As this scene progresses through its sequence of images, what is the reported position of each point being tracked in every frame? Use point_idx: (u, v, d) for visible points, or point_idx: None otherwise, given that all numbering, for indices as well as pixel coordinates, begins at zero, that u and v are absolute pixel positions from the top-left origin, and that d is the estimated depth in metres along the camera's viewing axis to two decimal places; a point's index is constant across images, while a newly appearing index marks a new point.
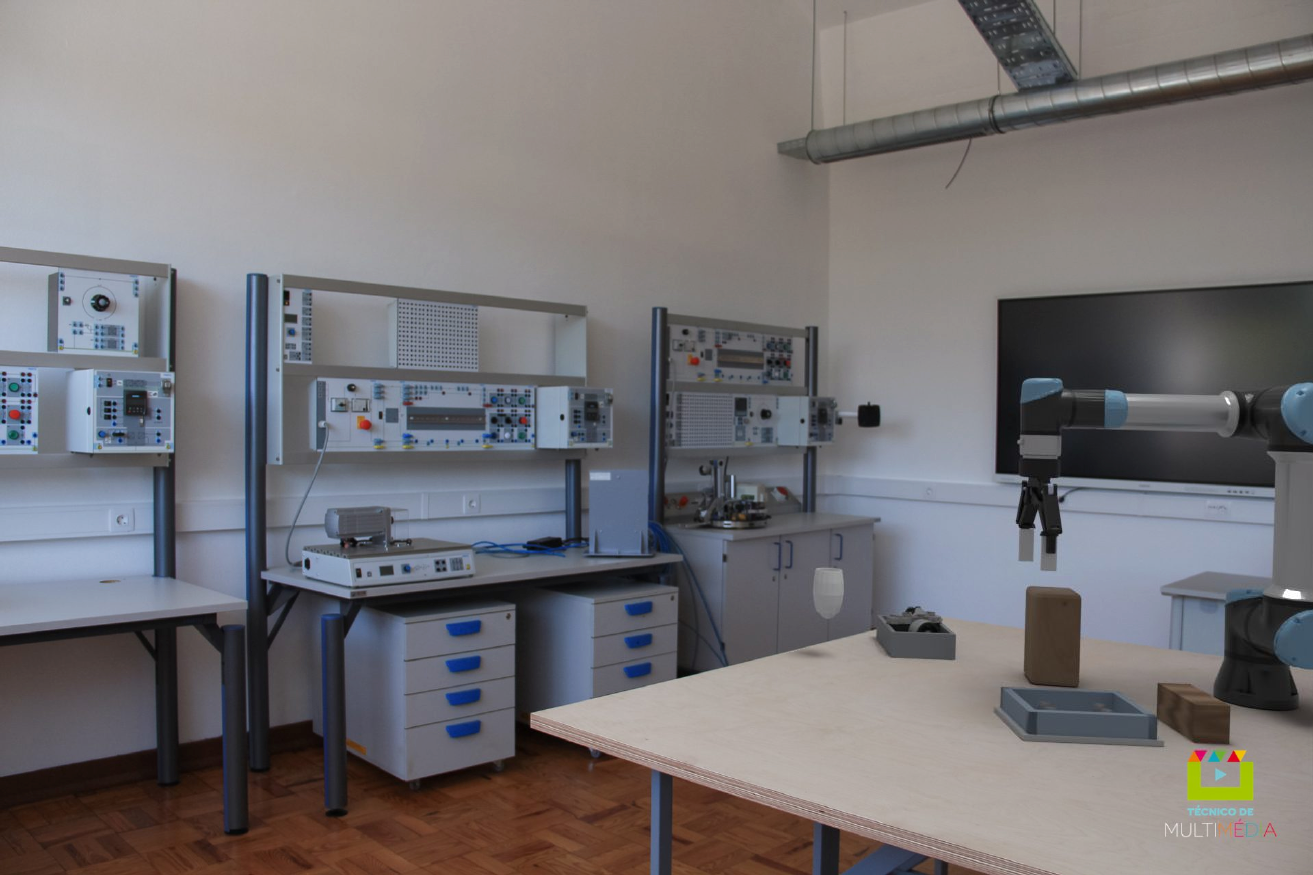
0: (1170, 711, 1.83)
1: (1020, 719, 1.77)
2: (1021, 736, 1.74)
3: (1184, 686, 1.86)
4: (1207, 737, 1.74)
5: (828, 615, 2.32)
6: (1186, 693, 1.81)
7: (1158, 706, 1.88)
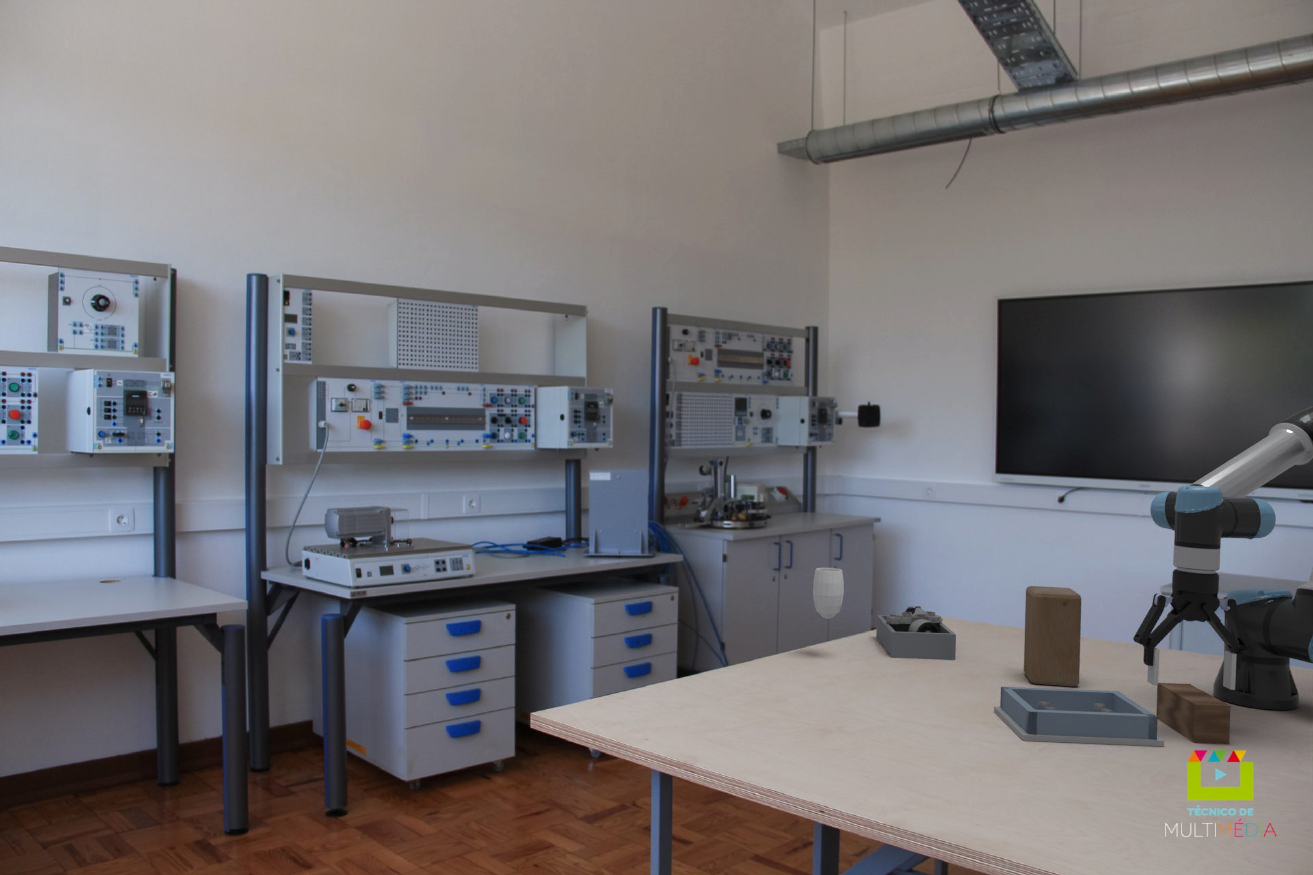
0: (1170, 711, 1.83)
1: (1020, 719, 1.77)
2: (1021, 736, 1.74)
3: (1184, 686, 1.86)
4: (1207, 737, 1.74)
5: (828, 615, 2.32)
6: (1186, 693, 1.81)
7: (1158, 706, 1.88)
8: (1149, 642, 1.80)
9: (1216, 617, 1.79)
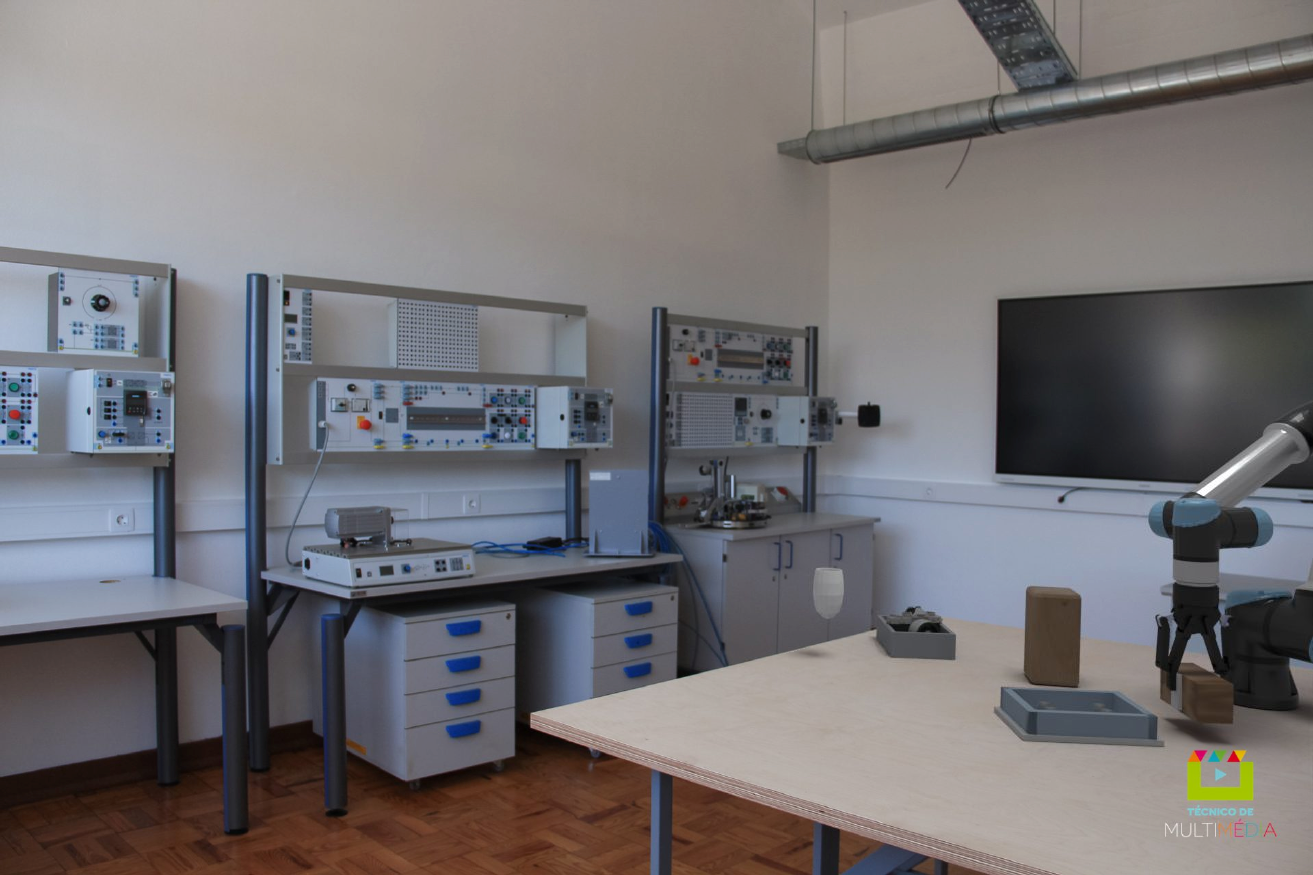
0: None
1: (1020, 719, 1.77)
2: (1021, 736, 1.74)
3: (1187, 665, 1.86)
4: (1211, 716, 1.74)
5: (828, 615, 2.32)
6: (1189, 672, 1.81)
7: (1161, 686, 1.88)
8: (1170, 668, 1.80)
9: (1213, 632, 1.79)
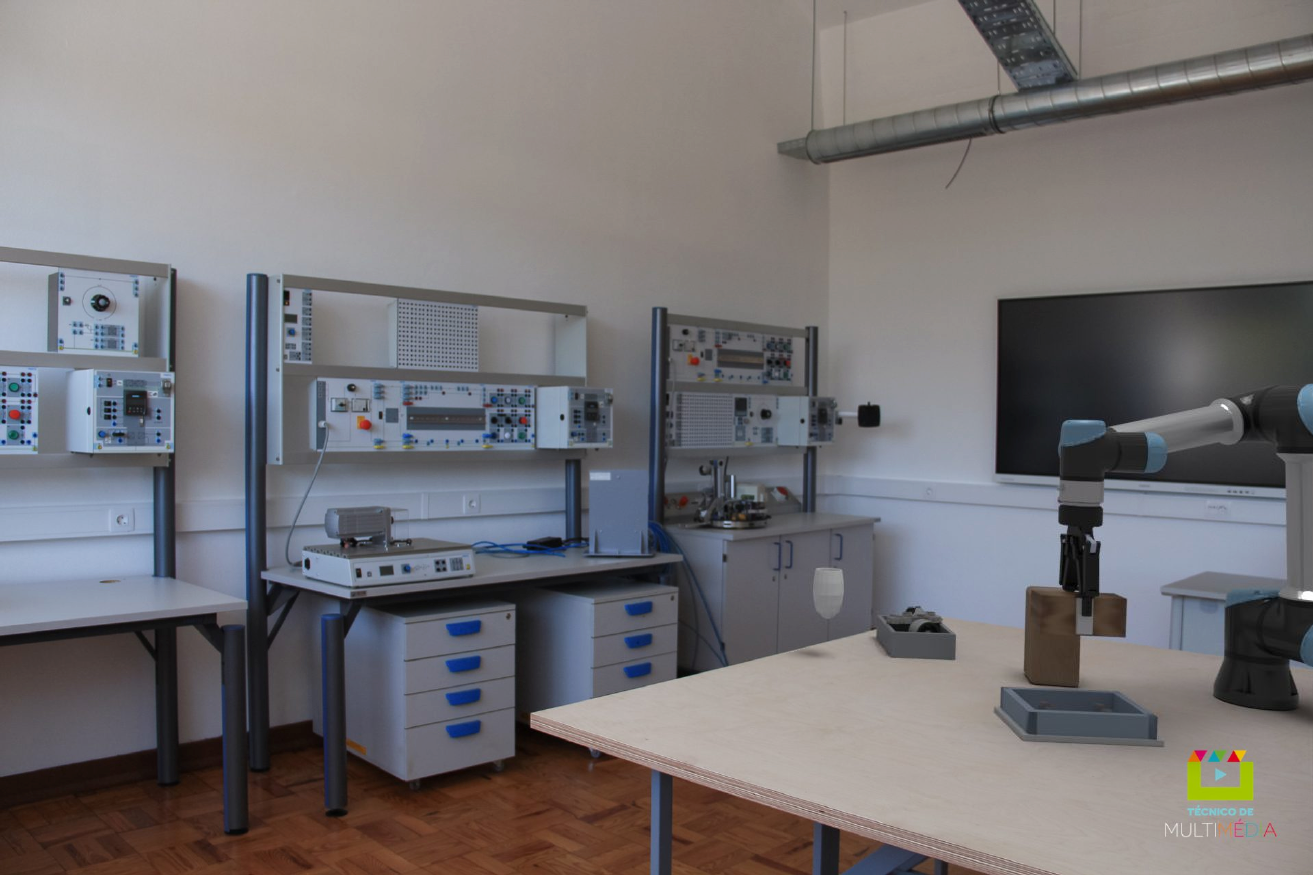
0: (1073, 617, 1.78)
1: (1020, 719, 1.77)
2: (1021, 736, 1.74)
3: (1046, 592, 1.82)
4: None
5: (828, 615, 2.32)
6: None
7: (1044, 619, 1.78)
8: None
9: None
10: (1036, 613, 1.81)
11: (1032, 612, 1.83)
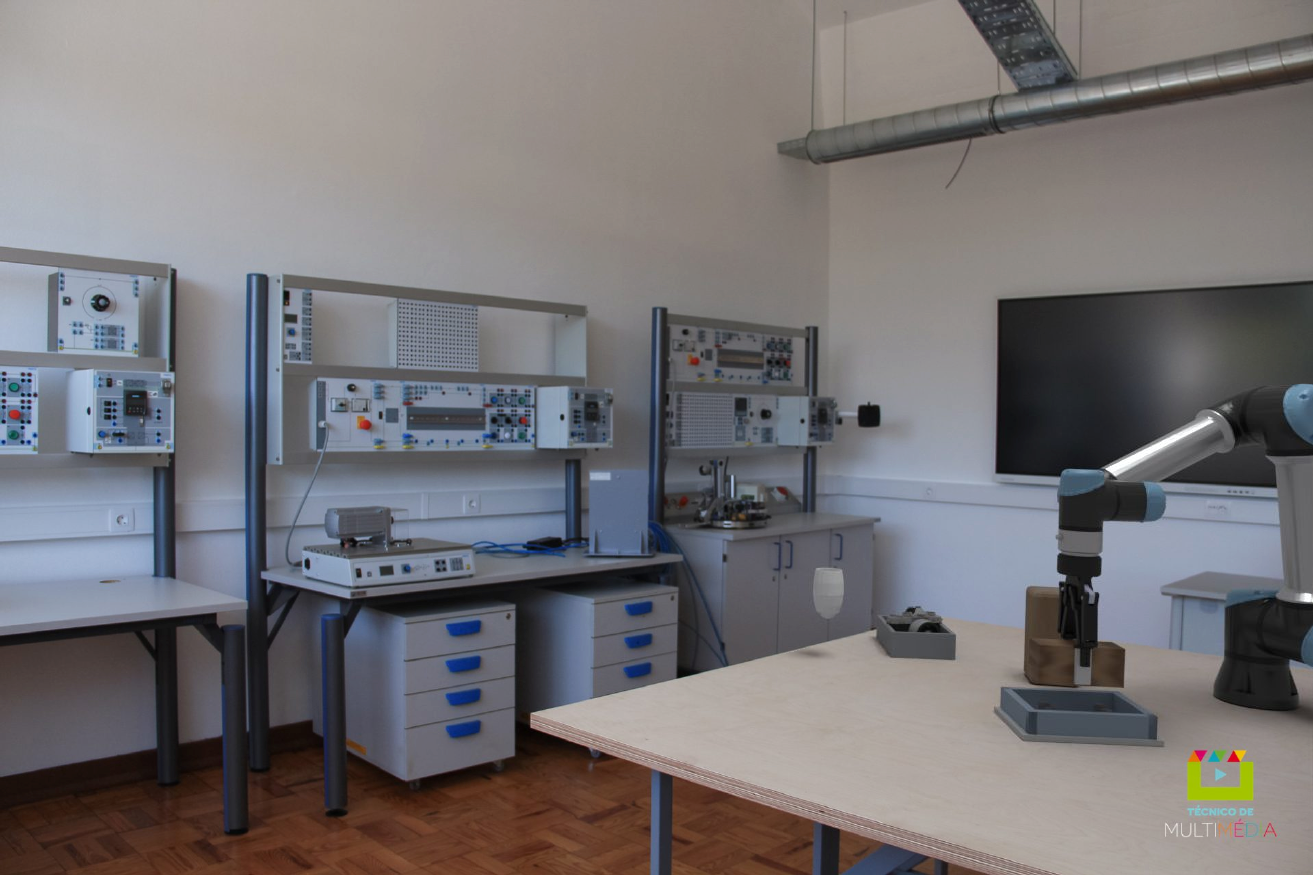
0: (1072, 667, 1.78)
1: (1020, 719, 1.77)
2: (1021, 736, 1.74)
3: (1044, 640, 1.82)
4: None
5: (828, 615, 2.32)
6: None
7: (1043, 669, 1.78)
8: None
9: None
10: (1034, 662, 1.81)
11: (1030, 660, 1.83)
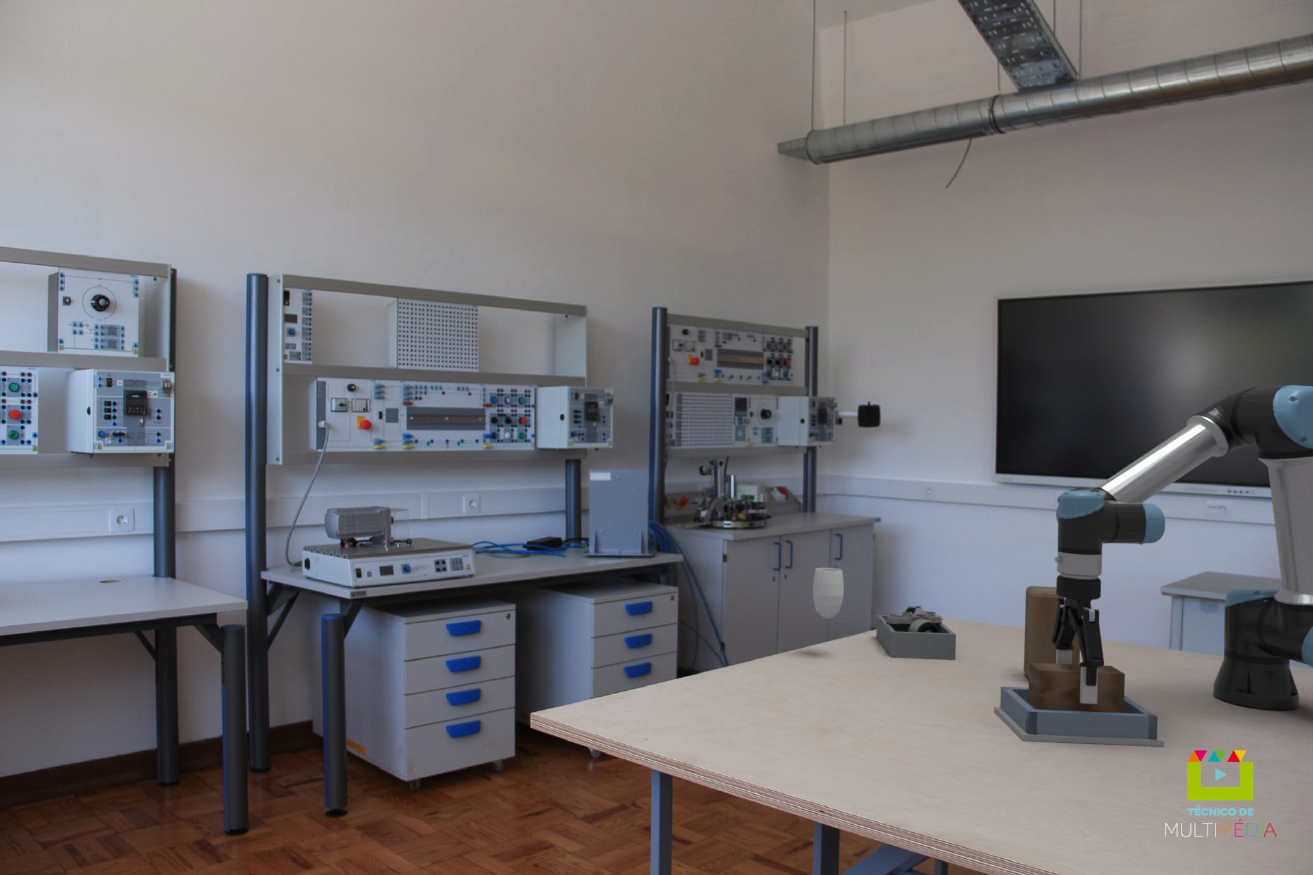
0: (1072, 692, 1.78)
1: (1020, 719, 1.77)
2: (1021, 736, 1.74)
3: (1044, 665, 1.82)
4: None
5: (828, 615, 2.32)
6: (1078, 669, 1.80)
7: (1043, 694, 1.78)
8: None
9: None
10: (1034, 687, 1.81)
11: (1030, 685, 1.83)
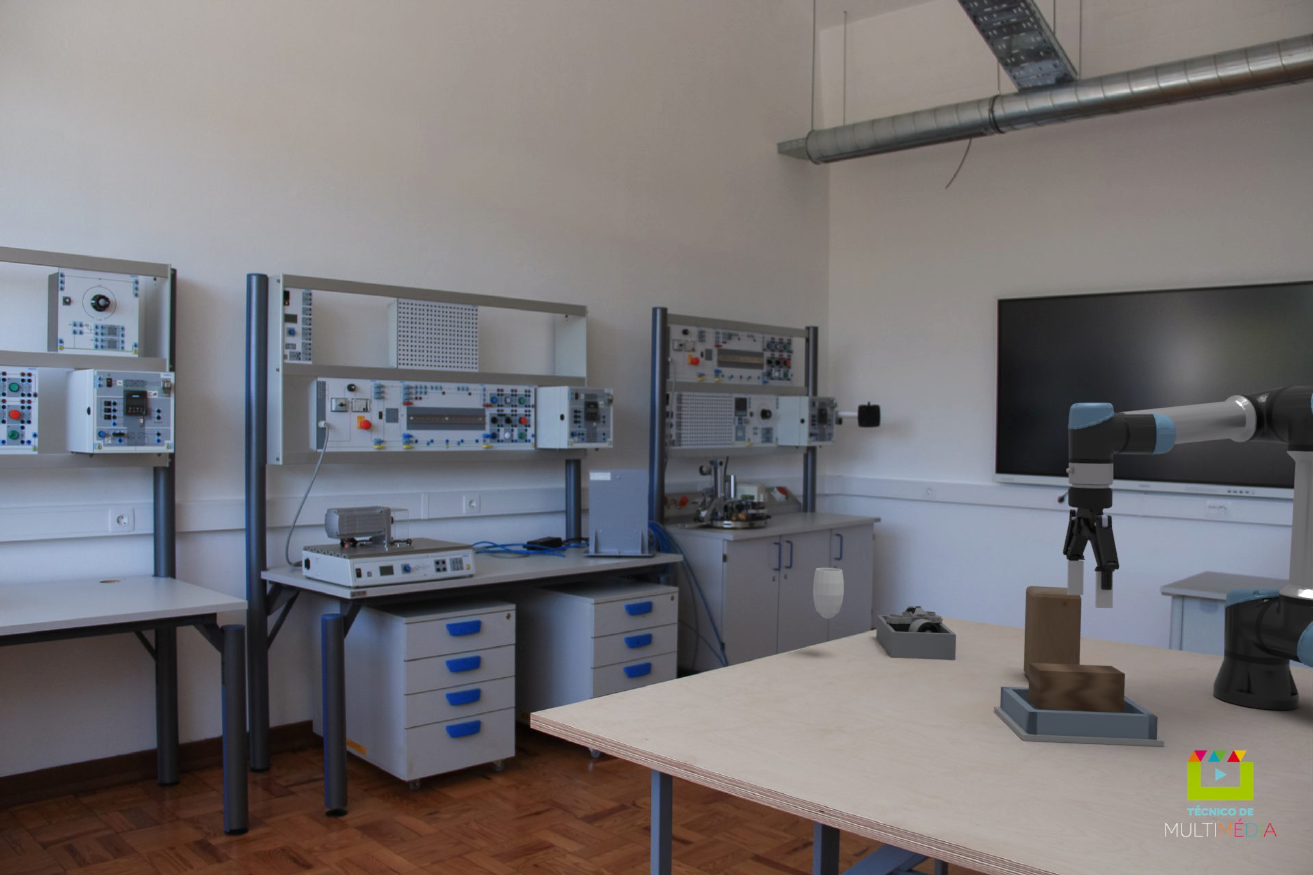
0: (1072, 692, 1.78)
1: (1020, 719, 1.77)
2: (1021, 736, 1.74)
3: (1044, 665, 1.82)
4: None
5: (829, 615, 2.32)
6: (1078, 669, 1.80)
7: (1043, 694, 1.78)
8: None
9: None
10: (1034, 687, 1.81)
11: (1030, 685, 1.83)
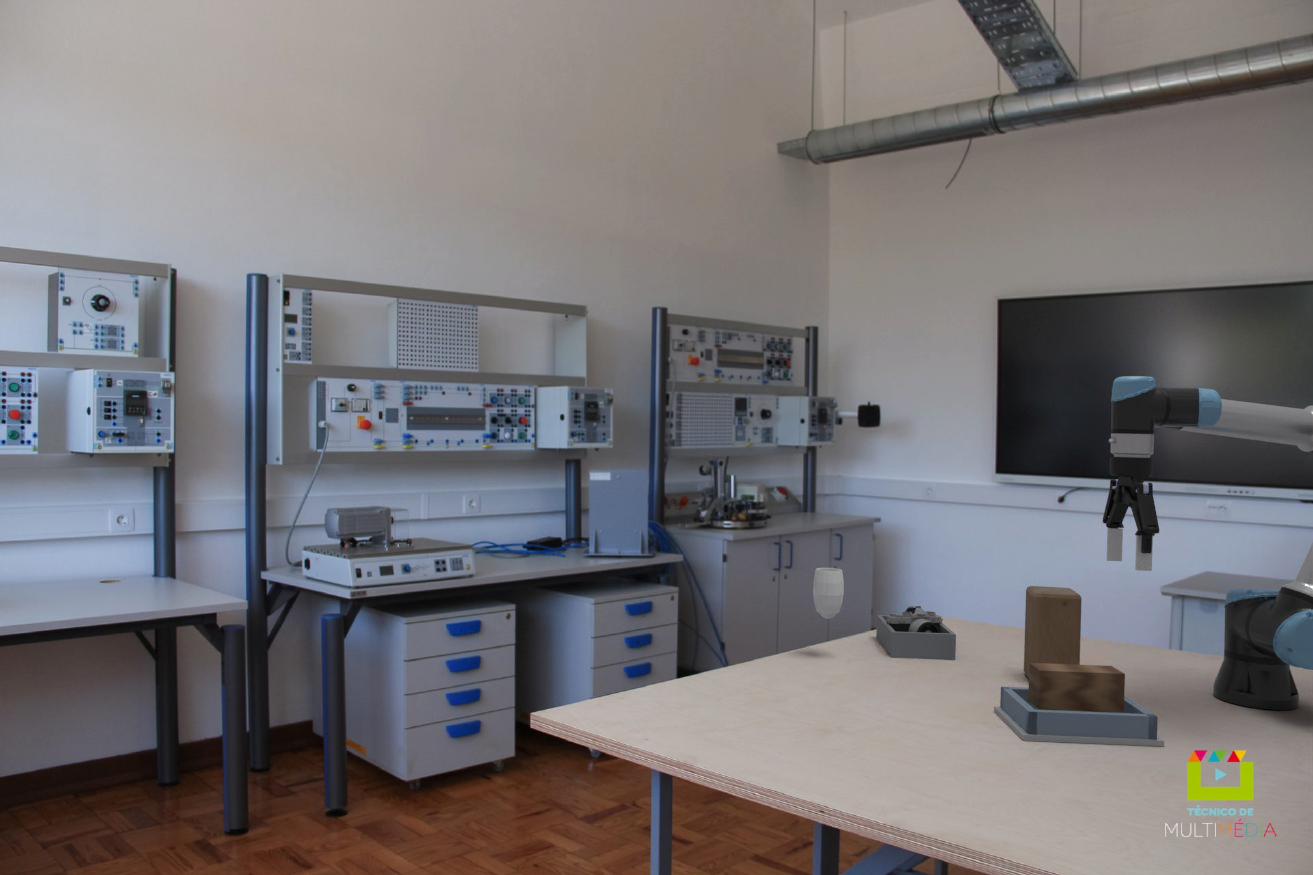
0: (1072, 692, 1.78)
1: (1020, 719, 1.77)
2: (1021, 736, 1.74)
3: (1044, 665, 1.82)
4: None
5: (828, 615, 2.32)
6: (1078, 669, 1.80)
7: (1043, 694, 1.78)
8: None
9: None
10: (1034, 687, 1.81)
11: (1030, 685, 1.83)
